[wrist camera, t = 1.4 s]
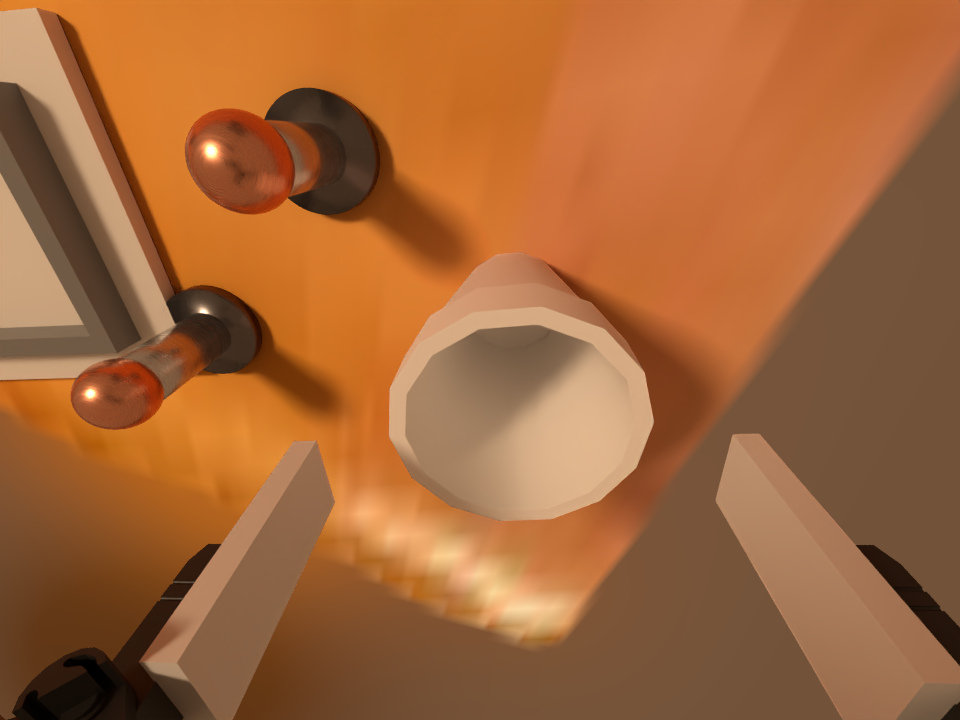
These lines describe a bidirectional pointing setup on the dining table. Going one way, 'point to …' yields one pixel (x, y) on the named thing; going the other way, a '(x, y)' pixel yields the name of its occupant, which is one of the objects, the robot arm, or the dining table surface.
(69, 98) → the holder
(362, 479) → the dining table surface
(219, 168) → the pegs
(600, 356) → the foam cup
